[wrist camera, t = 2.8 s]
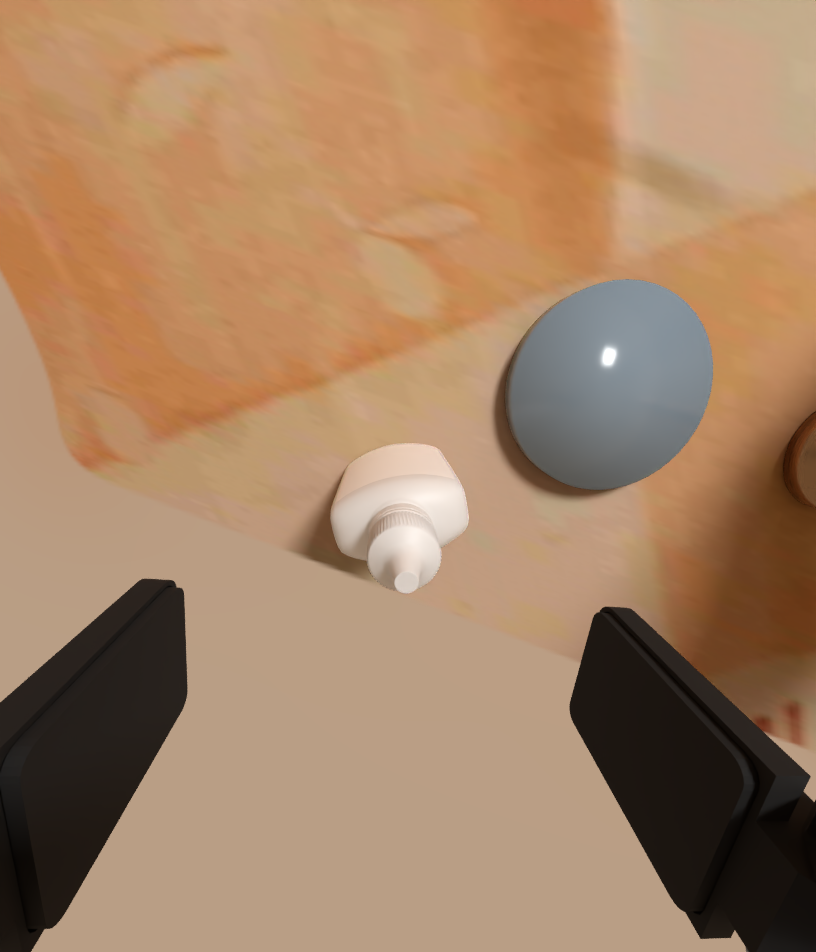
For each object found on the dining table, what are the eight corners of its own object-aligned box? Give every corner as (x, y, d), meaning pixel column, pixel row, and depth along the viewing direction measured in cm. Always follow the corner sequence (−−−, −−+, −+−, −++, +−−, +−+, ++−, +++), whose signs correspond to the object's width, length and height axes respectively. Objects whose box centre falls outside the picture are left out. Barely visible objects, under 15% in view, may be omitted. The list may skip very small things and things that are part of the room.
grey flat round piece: (526, 270, 20) (534, 264, 19) (722, 299, 21) (741, 295, 20) (489, 474, 23) (495, 480, 22) (663, 491, 24) (677, 498, 23)
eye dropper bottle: (359, 422, 22) (330, 484, 10) (453, 451, 22) (525, 540, 11) (338, 493, 23) (290, 623, 11) (429, 518, 23) (471, 665, 12)
